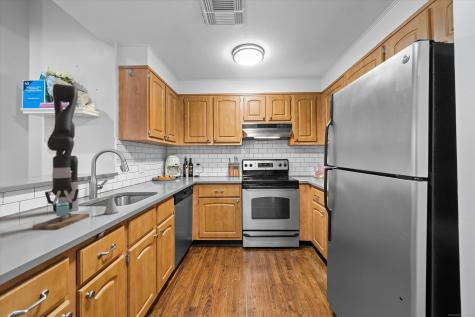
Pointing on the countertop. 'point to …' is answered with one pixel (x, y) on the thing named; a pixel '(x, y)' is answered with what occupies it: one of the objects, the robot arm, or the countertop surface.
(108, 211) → the flask
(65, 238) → the countertop surface
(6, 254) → the countertop surface
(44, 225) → the jig
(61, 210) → the teal slotted block
